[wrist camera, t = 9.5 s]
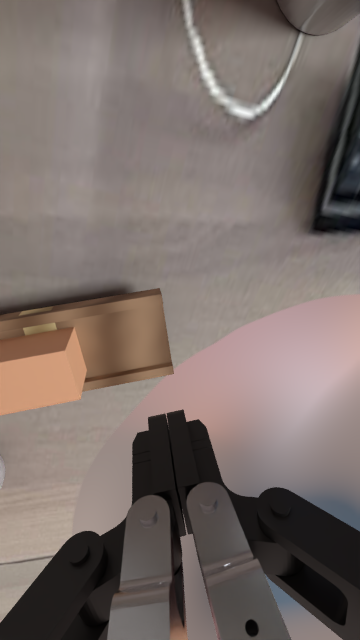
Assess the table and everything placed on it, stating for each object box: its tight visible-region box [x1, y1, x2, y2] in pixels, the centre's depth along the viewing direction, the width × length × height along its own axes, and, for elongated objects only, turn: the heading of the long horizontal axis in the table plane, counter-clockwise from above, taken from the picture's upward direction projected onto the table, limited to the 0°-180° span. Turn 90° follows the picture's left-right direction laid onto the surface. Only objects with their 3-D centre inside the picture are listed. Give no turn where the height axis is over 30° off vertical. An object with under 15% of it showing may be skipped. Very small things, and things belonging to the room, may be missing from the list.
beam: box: [0, 288, 174, 392], centre depth 33 cm, size 24×9×5 cm, turn 98°
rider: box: [0, 327, 87, 415], centre depth 29 cm, size 7×5×5 cm
